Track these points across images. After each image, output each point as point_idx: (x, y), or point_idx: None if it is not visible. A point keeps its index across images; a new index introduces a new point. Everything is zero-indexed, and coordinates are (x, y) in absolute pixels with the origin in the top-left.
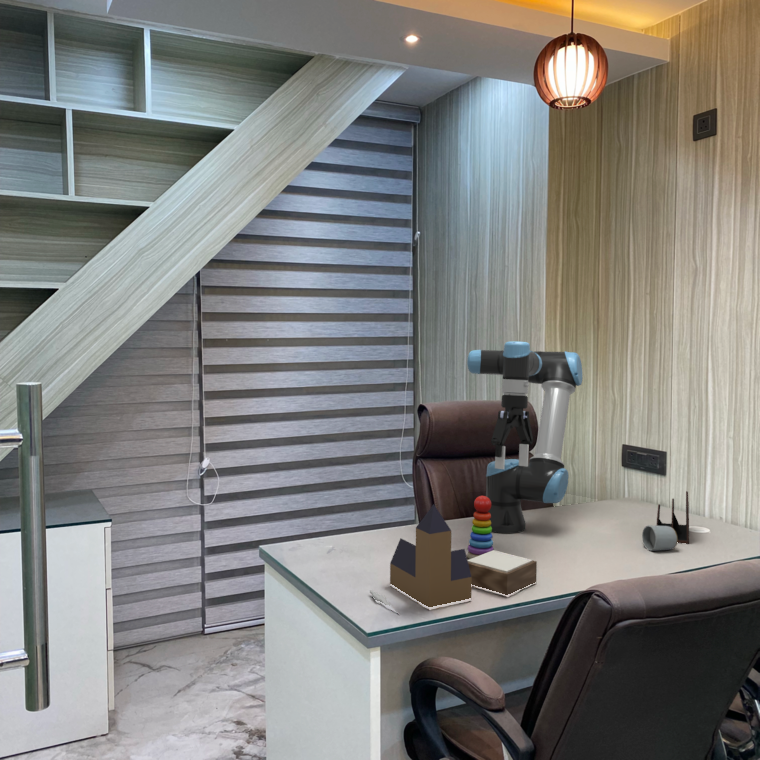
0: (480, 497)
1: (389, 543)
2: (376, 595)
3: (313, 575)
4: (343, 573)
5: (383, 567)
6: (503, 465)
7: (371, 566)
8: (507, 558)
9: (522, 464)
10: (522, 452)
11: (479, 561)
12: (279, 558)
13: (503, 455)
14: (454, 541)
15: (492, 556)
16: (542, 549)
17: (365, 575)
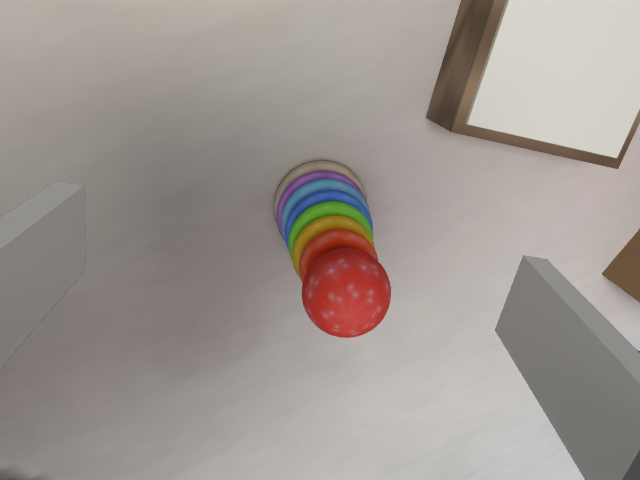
0: (372, 316)
1: (324, 461)
2: None
3: None
4: None
5: (518, 377)
6: (558, 274)
7: (521, 401)
8: (549, 34)
9: (76, 238)
10: (9, 312)
11: (616, 115)
12: None
13: (621, 334)
14: (194, 344)
15: (544, 96)
16: (70, 42)
17: None
